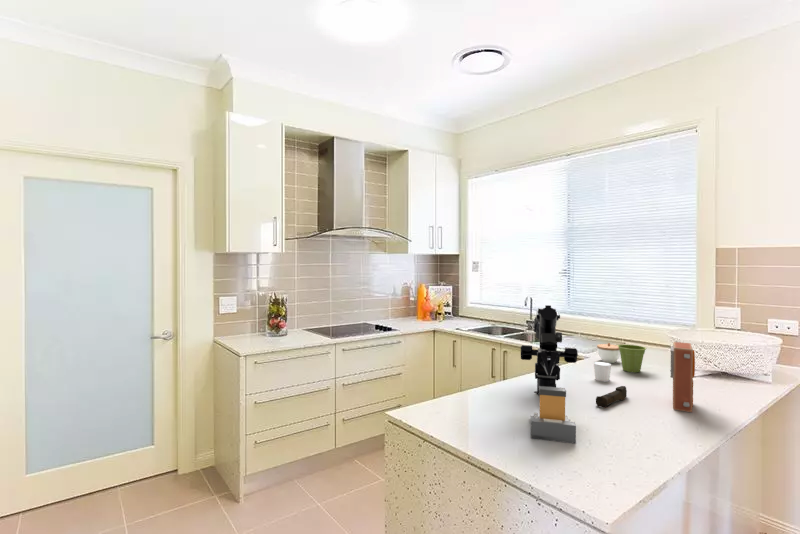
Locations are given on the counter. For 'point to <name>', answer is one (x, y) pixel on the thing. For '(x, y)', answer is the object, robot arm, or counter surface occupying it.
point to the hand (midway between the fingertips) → (549, 375)
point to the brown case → (682, 375)
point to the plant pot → (631, 357)
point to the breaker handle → (552, 403)
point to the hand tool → (611, 397)
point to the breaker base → (553, 429)
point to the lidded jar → (608, 352)
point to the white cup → (602, 371)
